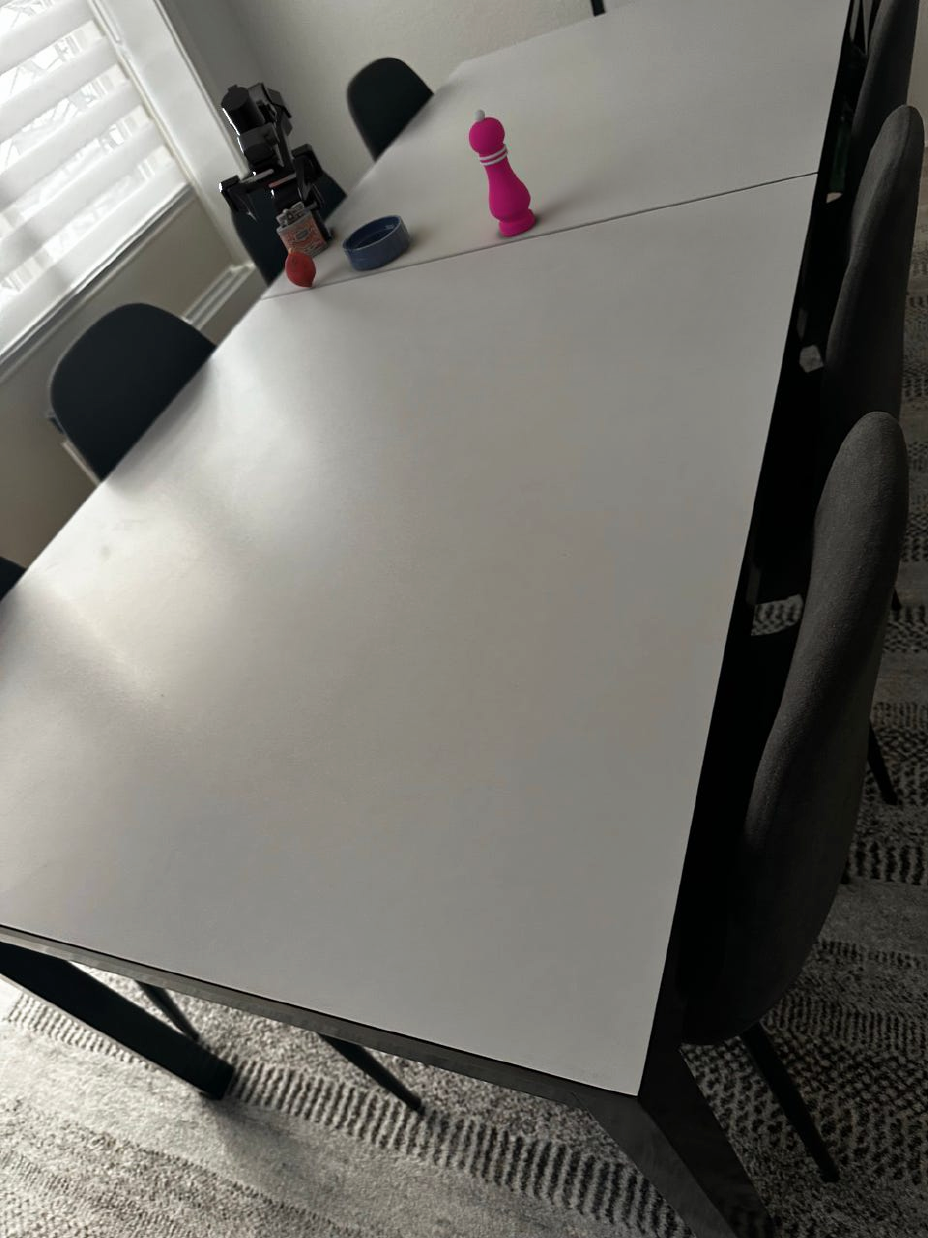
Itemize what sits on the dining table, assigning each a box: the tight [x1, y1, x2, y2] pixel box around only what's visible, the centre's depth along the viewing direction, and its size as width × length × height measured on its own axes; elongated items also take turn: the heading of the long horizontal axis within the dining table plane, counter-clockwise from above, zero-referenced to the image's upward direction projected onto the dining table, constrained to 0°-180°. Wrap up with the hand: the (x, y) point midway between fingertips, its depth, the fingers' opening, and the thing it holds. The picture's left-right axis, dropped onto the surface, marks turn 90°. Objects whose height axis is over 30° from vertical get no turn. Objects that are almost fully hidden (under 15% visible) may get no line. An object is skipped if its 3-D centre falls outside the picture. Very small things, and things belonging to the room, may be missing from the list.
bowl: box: [341, 214, 412, 271], centre depth 177 cm, size 12×12×4 cm
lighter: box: [276, 202, 328, 258], centre depth 190 cm, size 8×3×10 cm, turn 118°
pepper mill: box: [468, 109, 536, 237], centre depth 156 cm, size 7×7×20 cm
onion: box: [284, 248, 317, 288], centre depth 178 cm, size 6×6×8 cm
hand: (280, 209), depth 169 cm, fingers open, 9 cm apart
